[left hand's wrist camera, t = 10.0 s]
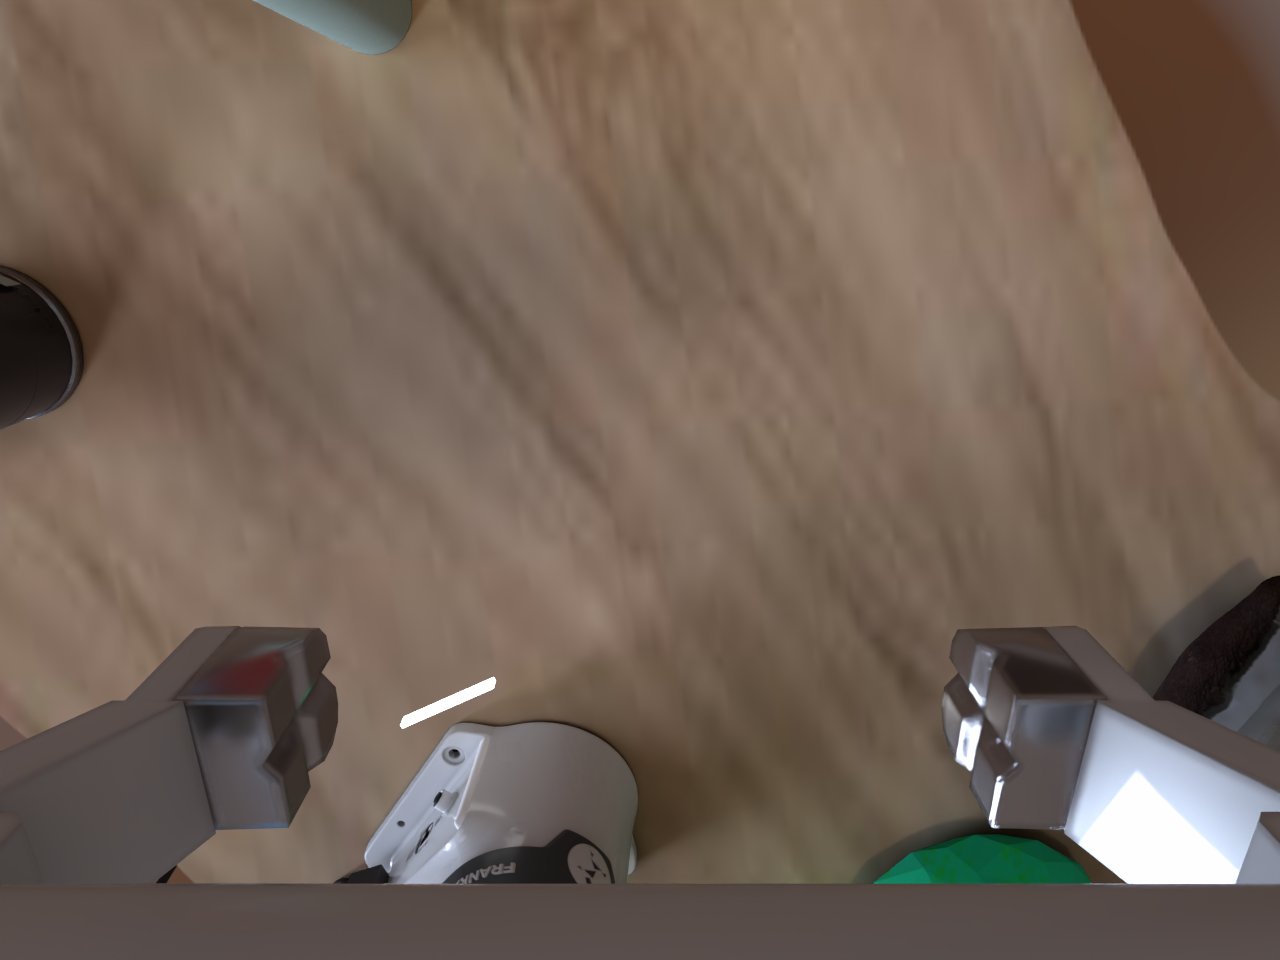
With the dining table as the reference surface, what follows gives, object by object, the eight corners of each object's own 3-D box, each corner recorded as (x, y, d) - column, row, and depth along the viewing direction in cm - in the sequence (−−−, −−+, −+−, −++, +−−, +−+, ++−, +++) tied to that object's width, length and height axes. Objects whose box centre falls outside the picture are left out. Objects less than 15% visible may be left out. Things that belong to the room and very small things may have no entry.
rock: (1229, 545, 55) (1323, 602, 47) (1352, 609, 56) (1461, 674, 49) (1064, 742, 60) (1125, 821, 53) (1181, 795, 62) (1255, 878, 55)
